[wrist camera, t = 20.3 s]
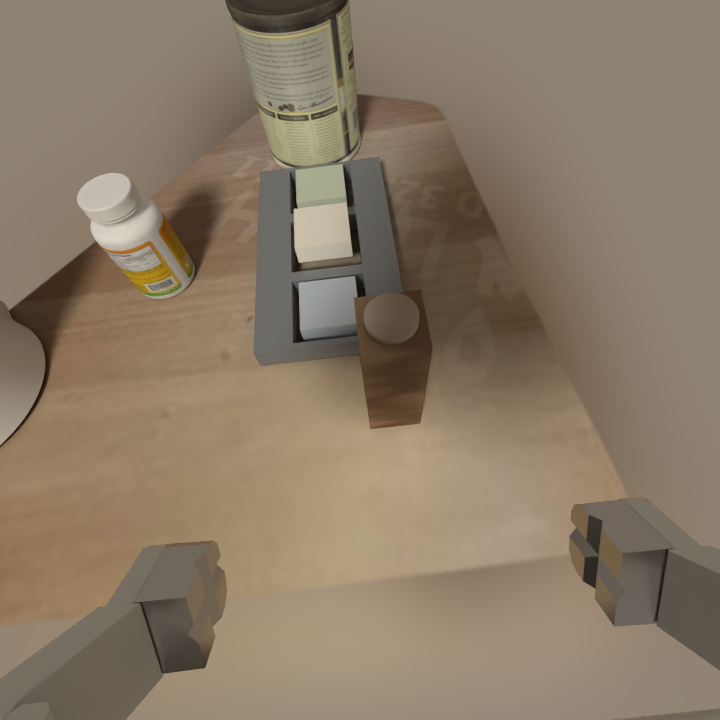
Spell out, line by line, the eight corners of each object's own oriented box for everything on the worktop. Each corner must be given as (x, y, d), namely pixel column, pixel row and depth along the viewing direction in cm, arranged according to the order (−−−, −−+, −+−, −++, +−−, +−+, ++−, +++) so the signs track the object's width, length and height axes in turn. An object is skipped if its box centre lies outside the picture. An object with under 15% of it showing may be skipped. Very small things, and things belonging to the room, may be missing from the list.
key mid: (298, 262, 35) (294, 248, 34) (297, 223, 37) (293, 208, 36) (352, 256, 35) (351, 241, 34) (348, 217, 37) (346, 202, 36)
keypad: (261, 365, 33) (253, 353, 32) (265, 188, 43) (260, 171, 42) (410, 348, 33) (411, 335, 31) (379, 174, 43) (379, 157, 41)
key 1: (304, 341, 33) (300, 330, 32) (302, 295, 35) (298, 282, 34) (361, 335, 33) (360, 323, 31) (356, 289, 35) (355, 276, 34)
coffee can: (261, 130, 48) (215, -26, 36) (345, 107, 49) (329, -53, 37) (280, 186, 43) (235, 27, 31) (374, 160, 44) (366, -5, 32)
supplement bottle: (165, 248, 40) (104, 158, 32) (208, 267, 39) (155, 177, 30) (126, 288, 38) (50, 203, 30) (169, 309, 37) (102, 226, 28)
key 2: (300, 217, 40) (296, 202, 38) (299, 184, 42) (295, 170, 40) (347, 211, 40) (346, 196, 38) (344, 179, 42) (342, 164, 40)
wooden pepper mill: (370, 428, 30) (359, 350, 20) (365, 384, 32) (352, 290, 22) (419, 423, 30) (433, 341, 20) (412, 378, 32) (421, 282, 22)
